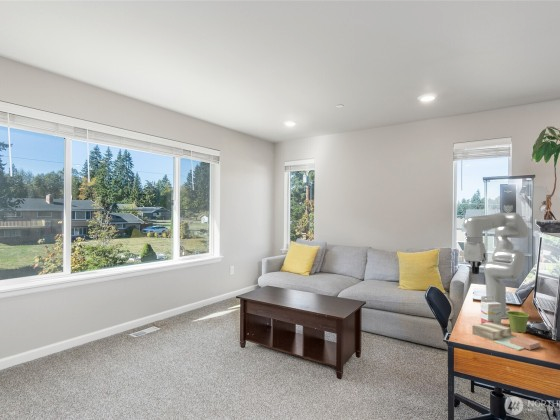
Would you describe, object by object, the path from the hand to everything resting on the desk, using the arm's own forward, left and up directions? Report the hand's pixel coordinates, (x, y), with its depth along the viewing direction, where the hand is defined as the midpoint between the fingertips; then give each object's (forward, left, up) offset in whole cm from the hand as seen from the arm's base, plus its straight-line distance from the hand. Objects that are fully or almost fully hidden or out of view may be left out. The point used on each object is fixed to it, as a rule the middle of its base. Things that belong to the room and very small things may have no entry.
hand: (475, 273), depth 169 cm
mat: (+10, +25, -27) cm, 38 cm away
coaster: (+10, +28, -25) cm, 39 cm away
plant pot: (-8, +16, -27) cm, 33 cm away
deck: (+10, +14, -27) cm, 32 cm away
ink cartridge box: (-6, +4, -27) cm, 28 cm away
